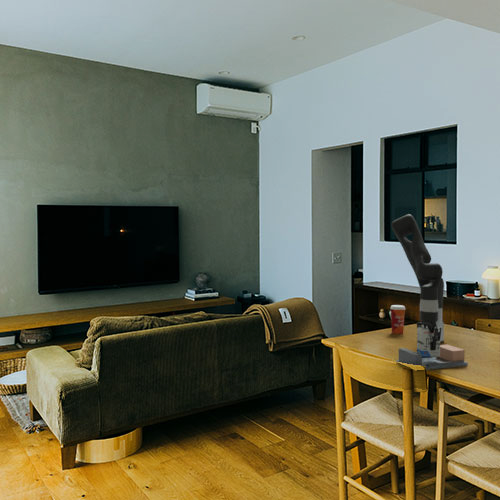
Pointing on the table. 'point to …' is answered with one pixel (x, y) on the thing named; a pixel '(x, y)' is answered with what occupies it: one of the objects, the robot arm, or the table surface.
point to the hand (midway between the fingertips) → (428, 348)
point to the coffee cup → (397, 318)
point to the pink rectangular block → (451, 353)
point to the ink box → (426, 344)
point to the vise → (427, 360)
